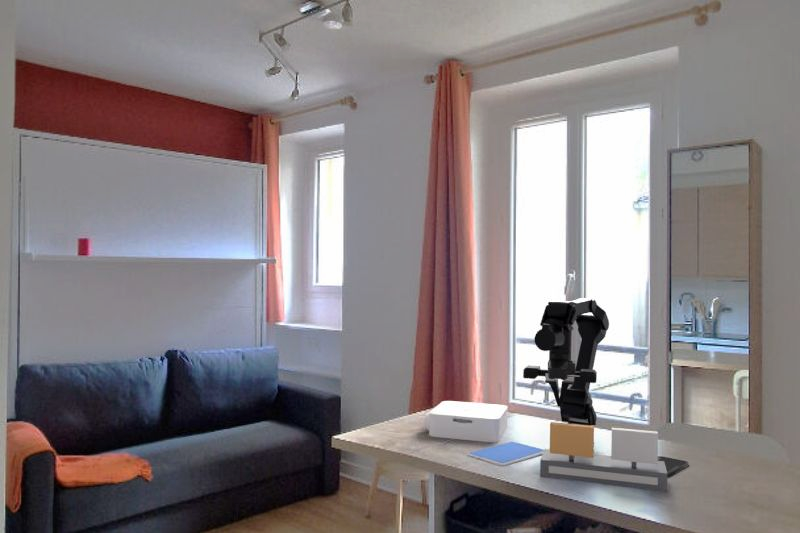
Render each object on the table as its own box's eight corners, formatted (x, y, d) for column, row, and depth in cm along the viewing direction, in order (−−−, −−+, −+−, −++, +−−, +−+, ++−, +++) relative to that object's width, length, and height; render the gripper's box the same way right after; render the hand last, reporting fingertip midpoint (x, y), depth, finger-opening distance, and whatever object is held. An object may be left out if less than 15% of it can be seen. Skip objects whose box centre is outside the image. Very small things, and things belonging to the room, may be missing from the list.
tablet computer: (502, 468, 161) (502, 463, 161) (465, 457, 170) (465, 452, 170) (548, 455, 174) (548, 450, 174) (511, 445, 183) (511, 440, 183)
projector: (439, 421, 210) (439, 399, 210) (508, 427, 203) (508, 405, 203) (422, 436, 190) (422, 413, 190) (498, 443, 183) (498, 419, 183)
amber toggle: (550, 455, 156) (550, 422, 156) (593, 459, 153) (594, 425, 153) (549, 457, 154) (550, 423, 154) (593, 462, 151) (593, 427, 151)
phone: (635, 467, 160) (659, 455, 171) (635, 472, 160) (659, 459, 171) (668, 474, 154) (690, 461, 165) (668, 479, 154) (690, 466, 165)
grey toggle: (611, 461, 152) (611, 427, 152) (656, 466, 148) (657, 431, 149) (611, 463, 150) (611, 429, 150) (657, 468, 147) (657, 433, 147)
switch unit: (544, 464, 163) (544, 448, 163) (663, 478, 154) (664, 460, 154) (539, 476, 153) (540, 459, 153) (667, 491, 144) (667, 473, 144)
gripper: (520, 349, 167) (519, 409, 167) (595, 353, 161) (594, 415, 161) (526, 344, 178) (525, 401, 178) (597, 348, 172) (596, 407, 172)
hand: (559, 406), depth 172 cm, fingers closed
